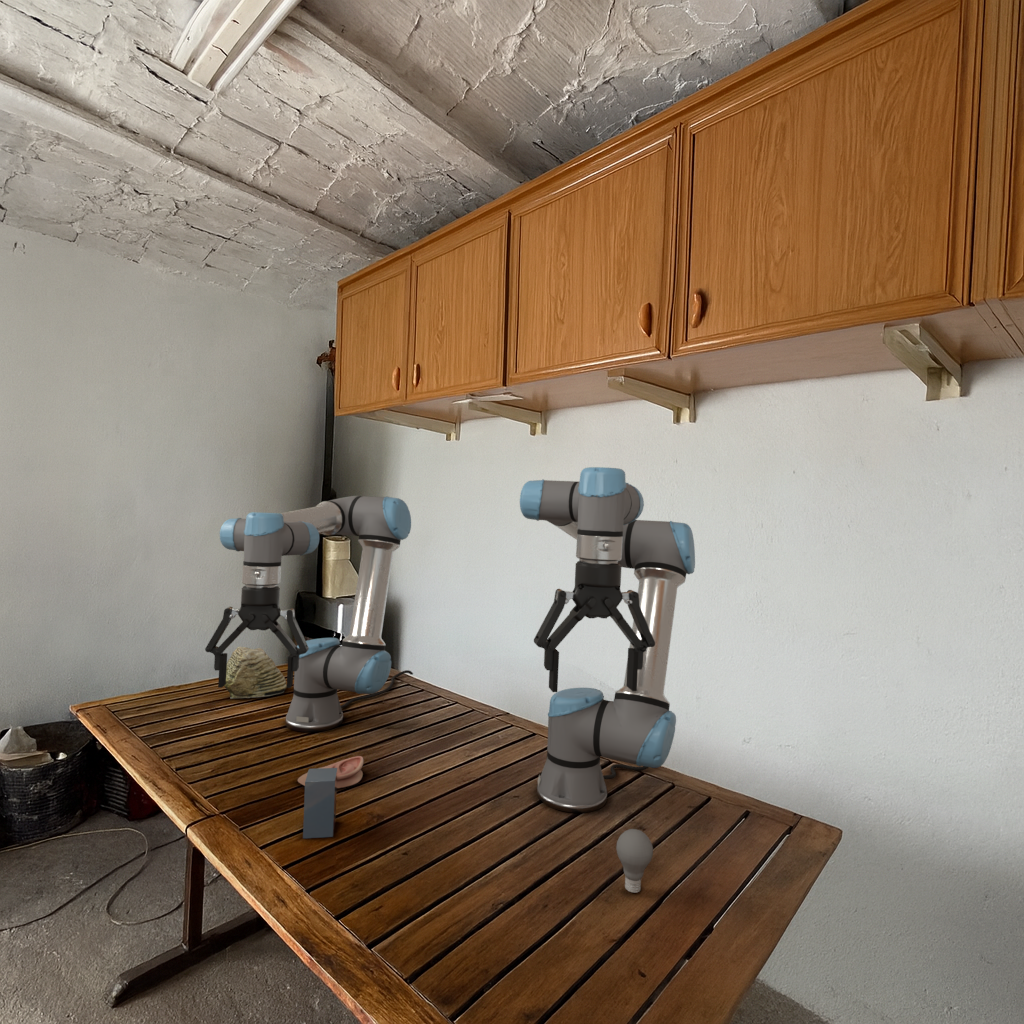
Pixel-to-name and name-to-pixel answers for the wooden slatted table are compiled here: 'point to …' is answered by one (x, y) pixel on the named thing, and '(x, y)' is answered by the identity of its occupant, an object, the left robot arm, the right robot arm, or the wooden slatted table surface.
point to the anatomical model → (344, 771)
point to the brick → (320, 803)
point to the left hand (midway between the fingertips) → (256, 686)
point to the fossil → (253, 674)
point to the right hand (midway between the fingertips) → (592, 689)
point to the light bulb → (634, 857)
